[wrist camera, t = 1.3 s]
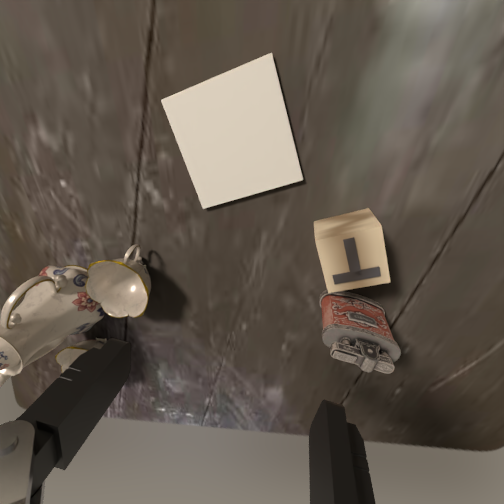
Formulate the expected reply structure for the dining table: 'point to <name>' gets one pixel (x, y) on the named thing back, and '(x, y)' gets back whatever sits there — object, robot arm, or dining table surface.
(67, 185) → the dining table surface
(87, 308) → the chinaware
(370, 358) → the lighter
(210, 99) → the pad
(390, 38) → the dining table surface
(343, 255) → the letter block
